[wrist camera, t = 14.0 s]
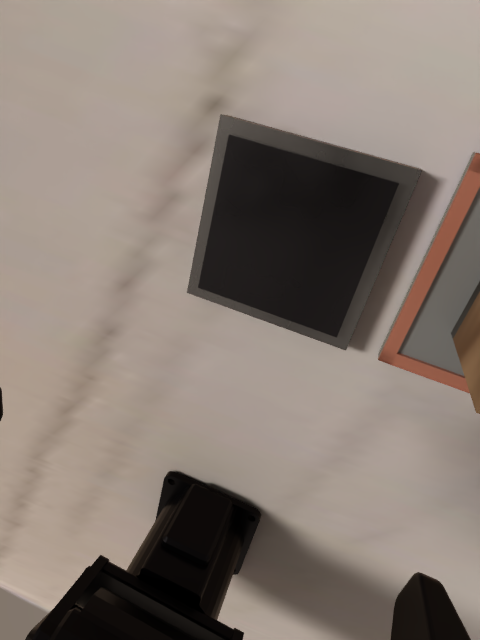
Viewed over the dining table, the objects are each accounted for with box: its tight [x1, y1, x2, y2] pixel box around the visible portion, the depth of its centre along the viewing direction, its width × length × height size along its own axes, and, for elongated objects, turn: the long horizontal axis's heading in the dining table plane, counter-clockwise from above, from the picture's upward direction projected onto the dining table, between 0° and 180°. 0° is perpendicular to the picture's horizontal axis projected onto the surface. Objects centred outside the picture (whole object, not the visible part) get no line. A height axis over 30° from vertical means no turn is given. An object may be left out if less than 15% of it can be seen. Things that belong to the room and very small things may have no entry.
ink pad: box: [187, 115, 422, 350], centre depth 18 cm, size 8×8×1 cm
